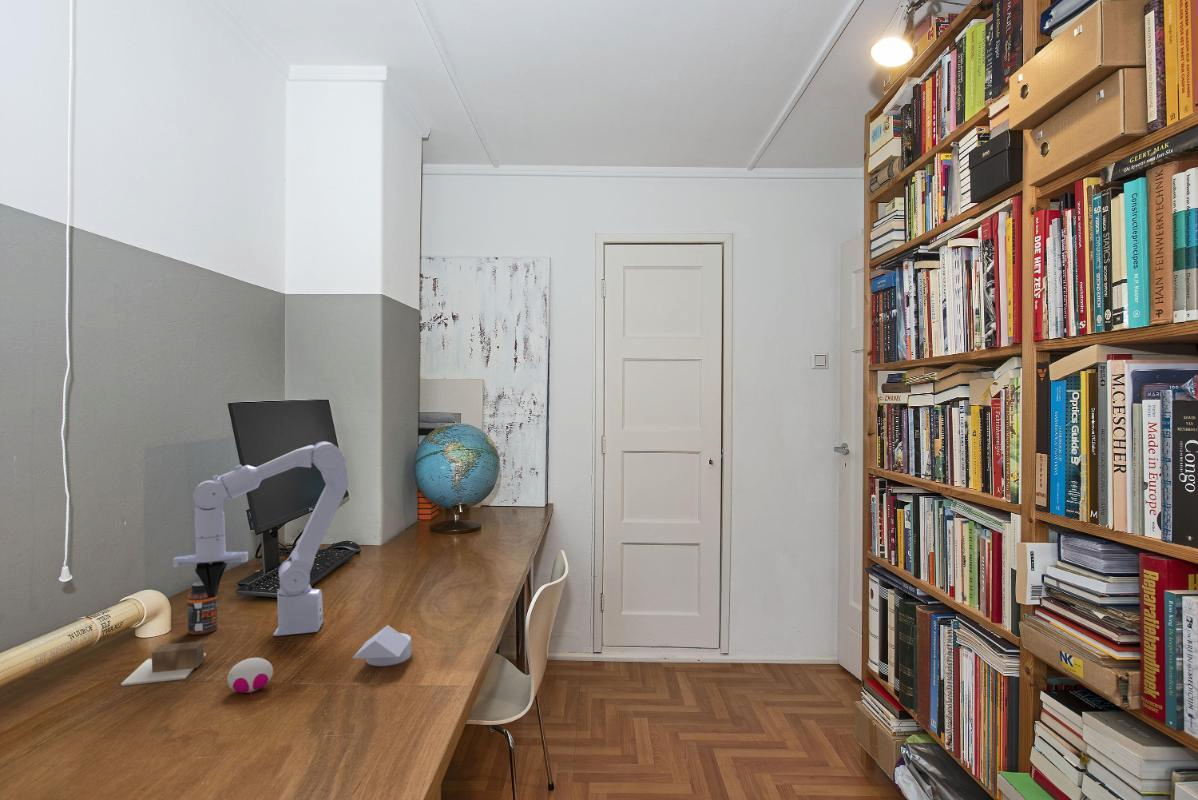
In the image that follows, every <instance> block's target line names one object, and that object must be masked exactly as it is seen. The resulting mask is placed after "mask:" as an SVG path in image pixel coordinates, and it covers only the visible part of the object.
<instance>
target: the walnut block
mask: <svg viewBox="0 0 1198 800" xmlns="http://www.w3.org/2000/svg"><path fill="white" fill-rule="evenodd" d="M204 648H205V647H204V640H199V641H188V642H186V641H185V642H179V643H167V644H159V645H158V646H157V647H156V648H155V649H154V650H153V651H151V659H152V673H154V672H163V671H173V670H182V669H192V668H194V669H198V668H199V667H200V665H201V664H202V663H203V662H204V661H205V657H204V653H205V650H204Z"/></svg>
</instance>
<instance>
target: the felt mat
mask: <svg viewBox="0 0 1198 800" xmlns="http://www.w3.org/2000/svg"><path fill="white" fill-rule="evenodd" d="M206 656H207V653H206V652H204V658H205V657H206ZM194 669H195V668H192V669H182V670H173V671H163V672H154V673H152V658H148V659H146V660H145V661H144V662H143V663H141V664H140V666H138V667H137V668H136V669H135V670H134V671H132V673H131V674H130V675H129V676H128V677H126V679H124V680H122V682H121V683H120V686H121V687H122V686H124V687H125V686H131V685H132V686H133V685H140V684H142V685H143V684H149V683H157V682H158V683H159V682H167V681H168V682H170V681H177V680H179V681H180V680H185V679H186V678H187V677H189V675H190V674H191V673H192V672H193V671H194Z"/></svg>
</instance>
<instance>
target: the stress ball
mask: <svg viewBox="0 0 1198 800" xmlns="http://www.w3.org/2000/svg"><path fill="white" fill-rule="evenodd" d="M273 674H274V668H273V665H272V663H271V662H270V661H269V660H267V659H265V658H262V657H249V658H246V659H243V660H241V661H239V662H237V663H236V664H235V665H234V666H233V667H231V669H230V670H229V672H228V675H227V678H226V679H227V684H228V686H229V688H230V690H233V691H234V692H236V693H243V694H244V693H245V694H246V693H250V697H252V696H253V692H256V691H258V690H260V689H262V688H263V687H265V686H266V685H267V684H268V683H270V680H271V679H272V677H273Z"/></svg>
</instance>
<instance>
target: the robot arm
mask: <svg viewBox="0 0 1198 800" xmlns="http://www.w3.org/2000/svg"><path fill="white" fill-rule="evenodd" d="M346 461H347V460H346V458H345V457H344V455H343V453H342V451H341V449H340V448H339V447H338V446H336V445H335V444H333V443H332V442H329V441H326V440H325V441H319V442H317V443H315V444H314V445H313V444H309V445H307V446H304V447H300V448H297V449H294V450H292V451H290V452H288V453H285V454H283V455H280V456H279V457H276V458H274V459H272V460H270V461H268V462H265V463H262V464H261V465H258V466H256V467H255V466H254V465H253V466H252V465H249V464H246V465H243V466H242V464H238V465H237V466H235V467H234V468H235V469H234V470H232V471H229V472H227V473H224V474H221V475H218V474H216V475H213V476H212V479H213V480H204V481H202V482H201V483H199V484H198V485H197V486H196V487H195V489H194V492H193V493H192V494H193V495H192V499H193V503H194V504H195V506H194V512H195V515H194V536H195V537H194V539H195V554H190V555H181V556H175V557H174V558H172V567H173V568H180V567H188V566H196V568H195V569H194V571H195V574H196V575H197V576H198V578H199V579H200V580H201V581H202V583H203V585H204V587H205V590H206V593H207V596H208V598H214V597H216V596H217V597H218V594H219V593H218V592H219V589H220V588H219V587H220V583H221V581H222V577H223V574H224V572H225V570H226V568H227V567H228V566H227V565H228V563H247V562H248V561H249V551H227V547H226V545H227V544H226V522H225V519H226V517H225V512H224V508H223V507H224V506H223V505H224V503H223V501H224V500H233V499H234V498H237V497H239V496H241V495H244V494H247V493H249V492H252V491H253V490H256V489H258V488H259V487H260V484H261V482H262V481H263V480H265V479H267V478H268V479H269V478H271V477H273V476H275V475H278V474H281V473H283V472H286V471H289V470H291V469H293V468H296V467H300V468H301V467H302V468H310V469H311V468H312V464H314V466H315V467H316V468H317V470H318V471H319V472H320V474H321V476H322V479H323V481H324V484H325V486H324V488H323V490H322V492H321V494H320V496H319V498H318V500H317V502H316V504H315V507H314V508H313V511H312V513H311V515H310V516H309V517H310V518H309V519H308V521H307V523H306V525H305V526H304V529H303V531H302V534H301V535H300V538H299V539H298V542H297V544H296V545H295V547H294V548H293V549H292V551H291V552H290V555H289V556H288V558H287V559H286V560H284V561H283V562H282V563H281V565H280V566H279V568H278V573H277V575H278V578H279V586H280V587H279V588H278V590H277V591H276V593H277V596H276V597H277V619H278V620H277V621H278V627H276V629H275V631H274V632H273V635H272V636H274V637H280V636H289V635H290V636H291V635H297V634H300V635H301V634H307V633H310V634H311V633H317V632H319V631H320V628H321V626H322V624H323V623H324V613H323V593H322V589H319V588H312V585H311V584H310V581H311V571H312V568H313V566H314V562H315V559H316V555H317V554H318V551H319V548H320V547H321V544H322V542H323V540H324V538H325V537H326V534H327V532H328V530H329V528H330V525H331V523H332V522H333V519H334V517H335V515H336V512H337V511H338V509H339V507H340V504H341V502H342V501H343V498H344V496H345V494H346V492H347V490H348V489H349V483H350V482H349V475H348V470H347V465H346V464H347V462H346ZM201 581H200V582H201Z"/></svg>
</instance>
